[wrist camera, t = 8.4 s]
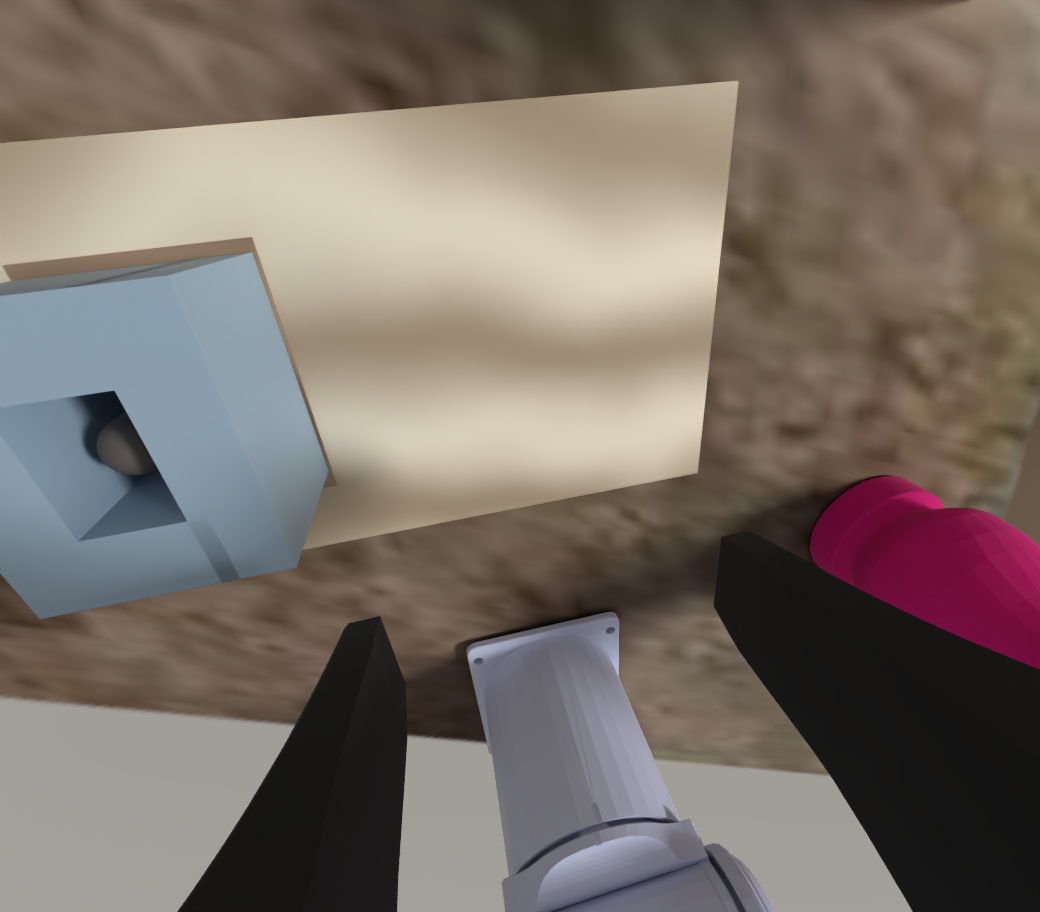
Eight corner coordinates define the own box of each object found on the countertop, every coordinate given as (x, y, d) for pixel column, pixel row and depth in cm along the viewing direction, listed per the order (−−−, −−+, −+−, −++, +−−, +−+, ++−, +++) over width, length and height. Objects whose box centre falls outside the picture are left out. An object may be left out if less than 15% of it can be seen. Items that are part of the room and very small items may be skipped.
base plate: (680, 456, 21) (764, 536, 16) (149, 556, 18) (45, 692, 13) (709, 92, 14) (868, 30, 9) (-100, 162, 12) (-491, 129, 7)
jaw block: (328, 470, 16) (296, 567, 12) (145, 503, 15) (39, 619, 11) (251, 252, 13) (168, 275, 8) (12, 280, 12) (-217, 322, 8)
